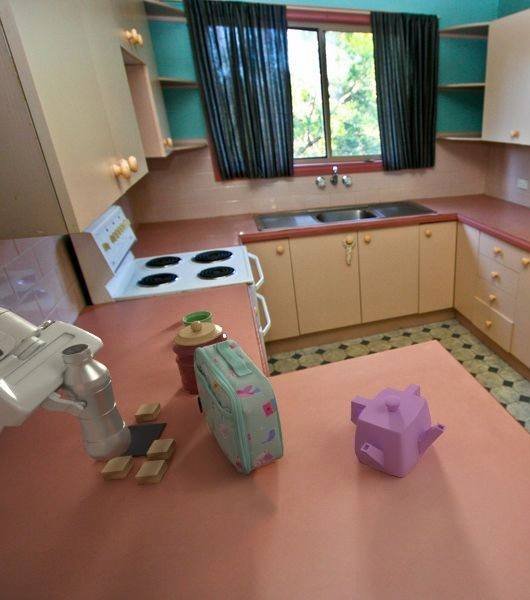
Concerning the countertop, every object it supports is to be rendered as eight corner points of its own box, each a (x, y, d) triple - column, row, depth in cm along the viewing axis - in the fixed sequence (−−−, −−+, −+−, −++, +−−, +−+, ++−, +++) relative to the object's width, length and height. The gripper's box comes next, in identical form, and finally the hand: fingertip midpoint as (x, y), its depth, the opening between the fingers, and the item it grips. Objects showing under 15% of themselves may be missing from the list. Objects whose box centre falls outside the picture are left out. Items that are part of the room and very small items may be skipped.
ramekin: (219, 327, 143) (216, 315, 141) (192, 337, 137) (189, 325, 135) (206, 319, 148) (204, 308, 147) (180, 329, 142) (177, 317, 140)
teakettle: (418, 414, 98) (417, 369, 93) (448, 467, 83) (450, 416, 78) (346, 432, 94) (341, 385, 89) (364, 491, 79) (360, 439, 74)
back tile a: (136, 421, 99) (134, 414, 98) (144, 411, 102) (142, 404, 102) (154, 420, 99) (152, 413, 98) (161, 409, 103) (159, 402, 102)
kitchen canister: (171, 391, 110) (153, 330, 102) (205, 364, 121) (191, 308, 114) (214, 398, 106) (199, 336, 99) (245, 370, 118) (233, 313, 111)
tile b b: (149, 461, 87) (146, 453, 86) (156, 447, 91) (154, 440, 90) (169, 459, 88) (166, 451, 87) (176, 445, 91) (174, 438, 90)
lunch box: (199, 420, 99) (177, 339, 90) (242, 401, 105) (226, 324, 96) (243, 490, 80) (220, 395, 71) (293, 462, 86) (278, 372, 77)
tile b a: (103, 480, 83) (100, 472, 82) (114, 465, 87) (111, 457, 86) (125, 478, 83) (122, 470, 82) (134, 462, 87) (131, 455, 86)
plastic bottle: (128, 433, 76) (95, 334, 68) (139, 452, 72) (105, 349, 64) (85, 451, 72) (45, 349, 64) (94, 473, 68) (52, 365, 60)
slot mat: (97, 461, 88) (96, 459, 88) (121, 428, 97) (120, 426, 97) (148, 456, 89) (147, 454, 88) (166, 424, 98) (166, 422, 98)
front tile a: (137, 484, 82) (134, 477, 81) (146, 469, 85) (144, 461, 84) (159, 482, 82) (156, 474, 81) (167, 467, 86) (165, 459, 85)
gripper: (41, 329, 73) (117, 373, 78) (-65, 402, 54) (43, 454, 59) (60, 303, 71) (137, 350, 76) (-42, 369, 53) (67, 426, 58)
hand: (95, 396), depth 67 cm, fingers closed on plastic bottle, 6 cm apart
